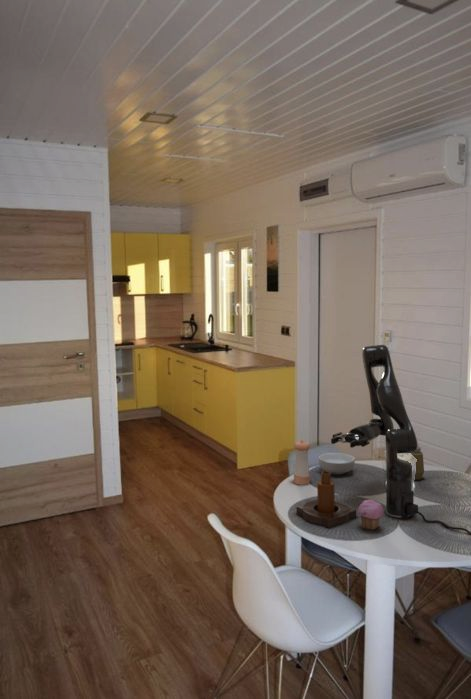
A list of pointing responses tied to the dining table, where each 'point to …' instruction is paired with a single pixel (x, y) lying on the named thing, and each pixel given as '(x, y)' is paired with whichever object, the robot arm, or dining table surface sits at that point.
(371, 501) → the cupcake
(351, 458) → the cereal bowl
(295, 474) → the pepper shaker
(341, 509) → the board
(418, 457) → the squeeze bottle
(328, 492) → the bottle
